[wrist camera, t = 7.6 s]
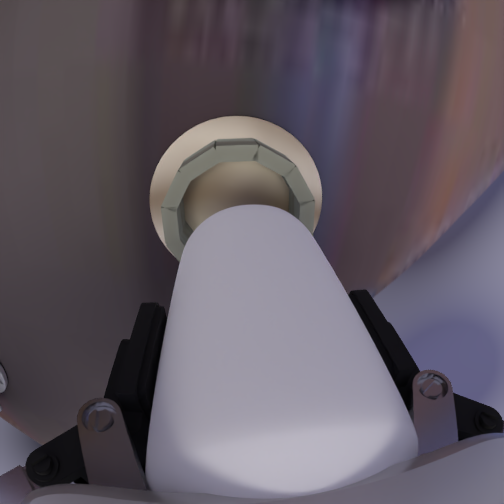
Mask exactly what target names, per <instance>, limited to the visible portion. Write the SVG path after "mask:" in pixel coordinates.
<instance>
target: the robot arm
mask: <svg viewBox="0 0 504 504" xmlns="http://www.w3.org/2000/svg"><path fill="white" fill-rule="evenodd" d="M348 296H349V298H350V300H351V302H352V303H353V305H354V307H355V309H356V311H357V312H358V314H359V316H360V318H361V320H362V322H363V323H364V325H365V327H366V329H367V331H368V333H369V334H370V336H371V338H372V340H373V342H374V344H375V346H376V348H377V350H378V352H379V353H380V355H381V357H382V359H383V361H384V363H385V365H386V367H387V369H388V371H389V373H390V375H391V377H392V379H393V381H394V383H395V385H396V387H397V389H398V391H399V393H400V396H401V398H402V400H403V402H404V404H405V406H406V408H407V411H408V413H409V415H410V418H411V420H412V422H413V425H414V428H415V431H416V434H417V437H418V454H417V457H415V458H412V459H409V460H406V461H403V462H400V463H397V464H394V465H391V466H390V467H388V468H386V469H384V470H383V471H381V472H379V473H377V474H374V475H372V476H370V477H368V478H366V479H363V480H361V481H359V482H356V483H353V484H350V485H347V486H344V487H341V488H338V489H334V490H330V491H326V492H322V493H317V494H312V495H306V496H298V497H289V498H273V499H255V498H239V497H228V496H220V495H214V494H208V493H179V492H161V491H150V490H149V487H148V485H147V482H146V477H145V466H146V453H147V443H148V434H149V426H150V419H151V411H152V404H153V398H154V391H155V385H156V378H157V372H158V366H159V361H160V355H161V349H162V344H163V339H164V333H165V328H166V323H167V318H166V313H165V309H164V307H159V304H158V303H142V304H141V306H140V309H139V312H138V315H137V318H136V322H135V325H134V328H133V331H132V335H131V338H130V340H127V339H123V340H122V341H121V343H120V346H119V349H118V352H117V355H116V358H115V361H114V365H113V368H112V371H111V374H110V378H109V381H108V385H107V388H106V392H105V395H104V398H95V399H93V400H90V401H88V402H87V403H85V404H84V405H83V406H82V407H81V408H80V410H79V412H78V415H77V425H76V426H75V427H73V428H71V429H70V430H68V431H66V432H65V433H63V434H61V435H60V436H58V437H56V438H55V439H53V440H51V441H49V442H48V443H46V444H44V445H43V446H41V447H39V448H37V449H36V450H34V451H33V452H32V453H31V454H30V455H29V457H28V458H27V461H26V465H25V466H24V467H21V466H20V465H19V466H17V467H15V468H14V469H12V470H10V471H8V472H6V473H4V474H2V475H1V476H0V504H504V421H503V420H502V417H501V416H500V414H499V413H498V412H497V411H496V410H495V409H494V408H492V407H490V406H487V405H484V404H482V403H479V402H476V401H473V400H471V399H468V398H466V397H463V396H460V395H458V394H455V393H453V390H452V385H451V382H450V381H449V379H448V378H447V377H446V376H445V375H444V374H442V373H440V372H438V371H434V370H424V371H421V372H420V371H419V369H418V367H417V365H416V363H415V362H414V360H413V358H412V357H411V355H410V354H409V352H408V350H407V349H406V347H405V345H404V344H403V342H402V340H401V339H400V337H399V336H398V334H397V333H396V331H395V329H394V328H393V326H392V325H391V324H390V323H389V322H387V320H386V319H385V317H384V316H383V314H382V312H381V311H380V309H379V308H378V306H377V305H376V303H375V302H374V300H373V298H372V297H371V295H370V294H369V292H368V291H367V290H354V291H351V292H350V294H349V295H348ZM7 384H8V382H7V377H6V374H5V371H4V369H3V368H2V366H1V364H0V393H2V392H4V390H5V389H6V387H7ZM1 410H2V406H1V405H0V411H1Z"/></svg>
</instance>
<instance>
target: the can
mask: <svg viewBox="0 0 504 504" xmlns="http://www.w3.org/2000/svg"><path fill="white" fill-rule="evenodd" d="M417 454H418V437H417V434H416V431H415V428H414V425H413V422H412V420H411V418H410V415H409V413H408V411H407V408H406V406H405V404H404V402H403V400H402V398H401V396H400V393H399V391H398V389H397V387H396V385H395V383H394V381H393V379H392V377H391V375H390V373H389V371H388V369H387V367H386V365H385V363H384V361H383V359H382V357H381V355H380V353H379V352H378V350H377V348H376V346H375V344H374V342H373V340H372V338H371V336H370V334H369V333H368V331H367V329H366V327H365V325H364V323H363V322H362V320H361V318H360V316H359V314H358V312H357V311H356V309H355V307H354V305H353V303H352V302H351V300H350V298H349V296H348V295H347V293H346V291H345V289H344V288H343V286H342V284H341V282H340V281H339V279H338V277H337V275H336V274H335V272H334V270H333V269H332V267H331V265H330V264H329V262H328V260H327V259H326V257H325V255H324V254H323V252H322V250H321V249H320V247H319V245H318V244H317V242H316V241H315V239H314V237H313V236H312V235H311V233H310V232H309V230H308V229H307V228H306V227H305V226H304V225H303V223H302V222H300V221H299V220H298V219H297V218H296V217H294V216H293V215H291V214H290V213H288V212H287V211H285V210H282V209H280V208H277V207H273V206H268V205H256V204H254V205H240V206H234V207H230V208H227V209H224V210H222V211H219V212H217V213H215V214H214V215H212V216H210V217H209V218H207V219H206V220H205V221H203V222H202V223H201V224H200V225H199V226H198V227H197V228H196V229H195V230H194V232H193V233H192V234H191V236H190V237H189V239H188V241H187V243H186V245H185V247H184V250H183V253H182V257H181V260H180V264H179V268H178V272H177V277H176V281H175V285H174V290H173V294H172V299H171V304H170V309H169V313H168V318H167V323H166V328H165V333H164V339H163V344H162V349H161V355H160V361H159V366H158V372H157V378H156V385H155V391H154V398H153V404H152V411H151V419H150V426H149V434H148V443H147V453H146V466H145V477H146V482H147V485H148V487H149V490H150V491H161V492H179V493H208V494H214V495H220V496H228V497H239V498H255V499H273V498H289V497H298V496H306V495H312V494H317V493H322V492H326V491H330V490H334V489H338V488H341V487H344V486H347V485H350V484H353V483H356V482H359V481H361V480H363V479H366V478H368V477H370V476H372V475H374V474H377V473H379V472H381V471H383V470H384V469H386V468H388V467H390V466H391V465H394V464H397V463H400V462H403V461H406V460H409V459H412V458H415V457H417Z"/></svg>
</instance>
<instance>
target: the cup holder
mask: <svg viewBox="0 0 504 504" xmlns="http://www.w3.org/2000/svg"><path fill="white" fill-rule="evenodd" d="M254 204H256V205H268V206H273V207H277V208H280V209H282V210H285V211H287V212H288V213H290V214H291V215H293V216H294V217H296V218H297V219H298V220H299V221H300V222H302V223H303V225H304V226H305V227H306V228H307V229H308V230H309V232H310V233H311V235H312V236H313V232H314V230H315V228H316V225H317V223H318V220H319V216H320V212H321V205H322V188H321V181H320V177H319V174H318V170H317V168H316V166H315V164H314V161H313V159H312V158H311V156H310V155H309V153H308V151H307V150H306V149H305V148H304V147H303V145H302V144H301V143H300V142H299V141H298V140H297V139H296V138H295V137H294V136H292V135H291V134H290V133H288V132H287V131H285V130H284V129H282V128H281V127H279V126H277V125H275V124H272V123H270V122H268V121H265V120H262V119H259V118H254V117H248V116H225V117H219V118H215V119H211V120H208V121H206V122H203V123H201V124H198V125H197V126H195V127H193V128H191V129H189V130H188V131H187V132H185V133H184V134H183V135H181V136H180V137H179V138H178V139H177V140H176V141H175V142H174V143H173V144H172V145H171V146H170V147H169V148H168V150H167V151H166V152H165V154H164V155H163V156H162V158H161V160H160V162H159V164H158V165H157V167H156V170H155V173H154V175H153V179H152V183H151V188H150V211H151V216H152V220H153V223H154V226H155V229H156V231H157V233H158V235H159V237H160V239H161V241H162V242H163V243H164V245H165V246H166V248H167V249H168V250H169V251H170V252H171V253H172V254H173V256H175V257H176V258H177V260H178V261H179V262H180V260H181V257H182V253H183V250H184V247H185V245H186V243H187V241H188V239H189V237H190V236H191V234H192V233H193V232H194V230H195V229H196V228H197V227H198V226H199V225H200V224H201V223H202V222H203V221H205V220H206V219H207V218H209V217H210V216H212V215H214V214H215V213H217V212H219V211H222V210H224V209H227V208H230V207H234V206H240V205H254Z"/></svg>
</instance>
